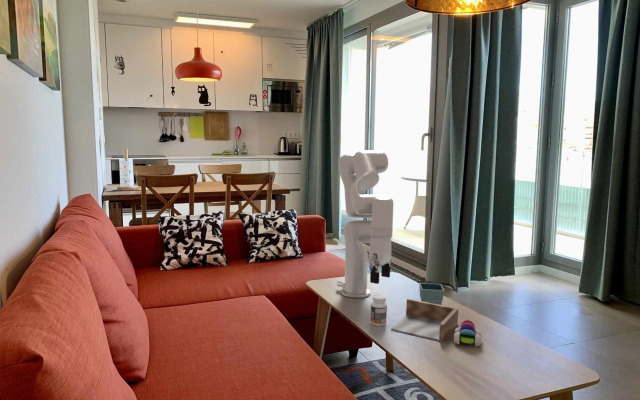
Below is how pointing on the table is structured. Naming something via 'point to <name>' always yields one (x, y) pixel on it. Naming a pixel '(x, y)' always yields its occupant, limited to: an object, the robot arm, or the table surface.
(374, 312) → the pill bottle
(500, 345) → the table surface
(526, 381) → the table surface
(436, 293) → the flower pot
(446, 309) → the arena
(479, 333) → the rainbow petal toy
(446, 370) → the table surface
